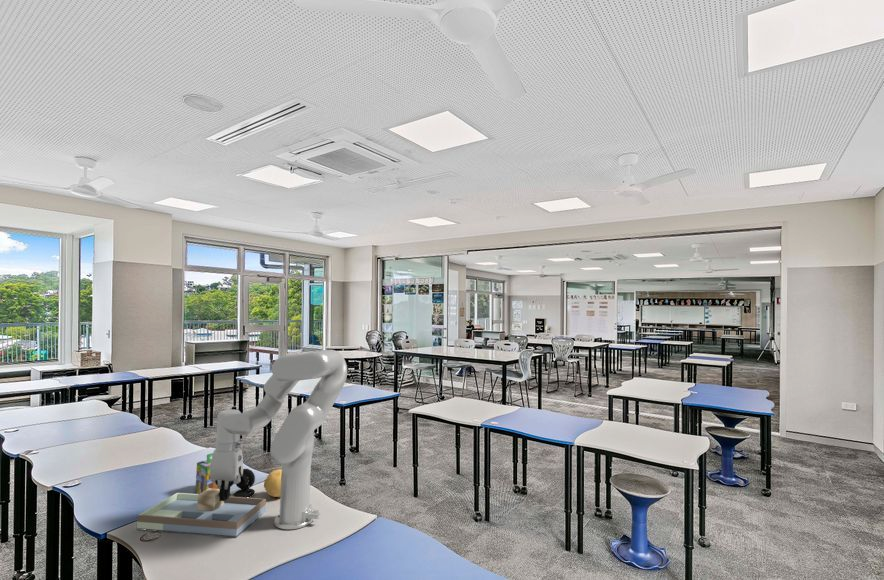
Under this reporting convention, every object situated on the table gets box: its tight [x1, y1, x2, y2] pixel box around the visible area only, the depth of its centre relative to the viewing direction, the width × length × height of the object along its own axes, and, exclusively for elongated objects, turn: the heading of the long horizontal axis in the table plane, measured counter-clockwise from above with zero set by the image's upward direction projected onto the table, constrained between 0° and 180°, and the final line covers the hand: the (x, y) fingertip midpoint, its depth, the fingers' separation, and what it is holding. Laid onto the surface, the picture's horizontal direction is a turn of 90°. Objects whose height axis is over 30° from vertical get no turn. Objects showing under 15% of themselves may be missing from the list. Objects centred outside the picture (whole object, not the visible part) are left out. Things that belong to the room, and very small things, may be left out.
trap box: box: [136, 492, 267, 539], centre depth 146 cm, size 34×18×4 cm, turn 84°
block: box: [197, 488, 224, 511], centre depth 151 cm, size 6×6×5 cm
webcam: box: [233, 468, 256, 498], centre depth 167 cm, size 8×8×10 cm
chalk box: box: [195, 452, 218, 494], centre depth 170 cm, size 9×9×15 cm
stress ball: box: [263, 468, 282, 498], centre depth 167 cm, size 10×10×10 cm
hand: (224, 499), depth 150 cm, fingers closed
